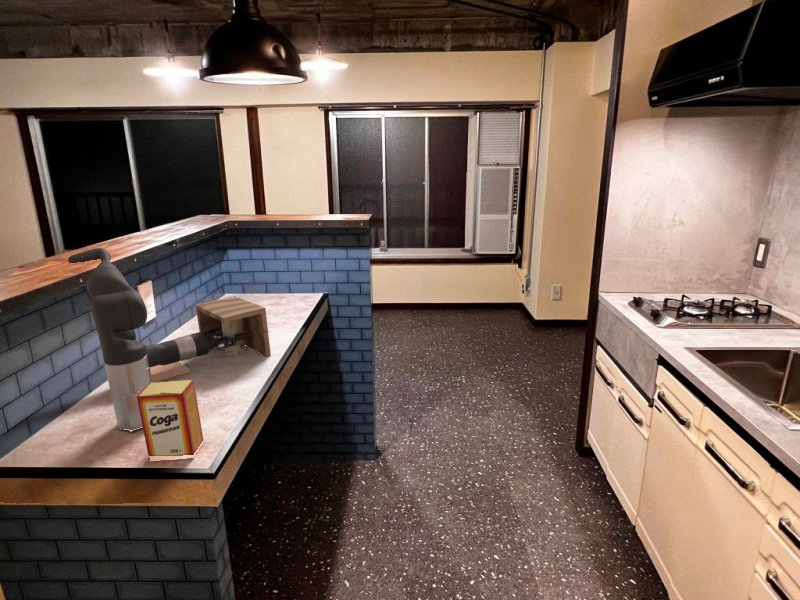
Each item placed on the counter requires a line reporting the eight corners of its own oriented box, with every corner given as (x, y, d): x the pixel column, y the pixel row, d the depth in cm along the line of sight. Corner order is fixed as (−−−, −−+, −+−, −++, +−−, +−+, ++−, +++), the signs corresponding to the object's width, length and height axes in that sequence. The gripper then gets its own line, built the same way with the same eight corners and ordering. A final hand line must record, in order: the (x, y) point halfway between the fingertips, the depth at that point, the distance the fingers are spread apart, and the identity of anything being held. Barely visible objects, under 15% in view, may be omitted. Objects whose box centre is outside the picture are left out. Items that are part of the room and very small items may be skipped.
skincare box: (237, 357, 164) (232, 321, 161) (225, 356, 165) (220, 321, 161) (246, 349, 170) (242, 315, 167) (235, 349, 171) (230, 315, 168)
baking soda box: (149, 461, 107) (136, 394, 103) (161, 445, 114) (149, 381, 109) (194, 459, 108) (182, 392, 103) (203, 442, 114) (193, 378, 110)
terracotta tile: (189, 371, 154) (189, 369, 153) (148, 384, 146) (148, 381, 146) (175, 361, 162) (175, 359, 162) (136, 372, 154) (135, 370, 154)
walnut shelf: (270, 355, 164) (265, 307, 160) (230, 368, 155) (223, 318, 151) (240, 340, 180) (234, 296, 175) (202, 350, 171) (195, 304, 166)
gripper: (197, 340, 150) (248, 327, 161) (180, 330, 160) (229, 318, 171) (201, 363, 152) (251, 348, 163) (183, 352, 162) (231, 338, 173)
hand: (239, 333), depth 167 cm, fingers closed on skincare box, 7 cm apart
